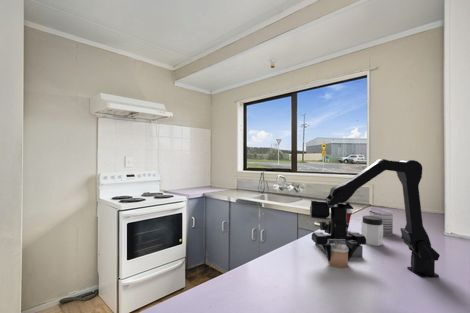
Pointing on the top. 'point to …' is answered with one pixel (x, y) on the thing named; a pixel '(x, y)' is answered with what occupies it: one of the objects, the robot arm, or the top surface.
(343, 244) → the steel block
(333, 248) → the ceramic canister
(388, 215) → the can
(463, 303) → the top surface
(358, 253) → the tote
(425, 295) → the top surface
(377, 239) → the jar
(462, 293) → the top surface
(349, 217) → the plastic cup
